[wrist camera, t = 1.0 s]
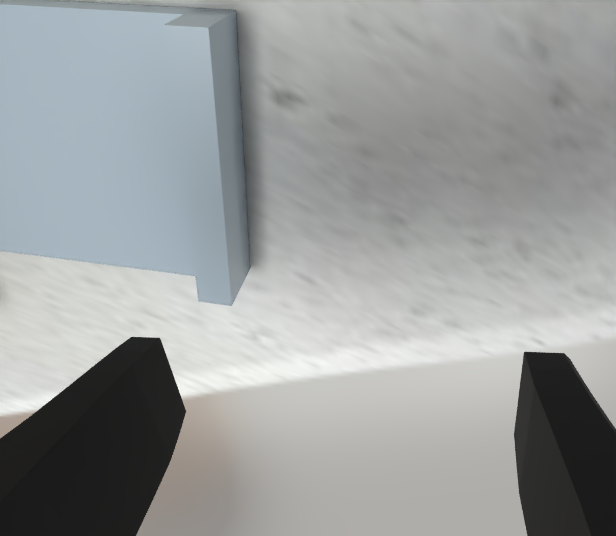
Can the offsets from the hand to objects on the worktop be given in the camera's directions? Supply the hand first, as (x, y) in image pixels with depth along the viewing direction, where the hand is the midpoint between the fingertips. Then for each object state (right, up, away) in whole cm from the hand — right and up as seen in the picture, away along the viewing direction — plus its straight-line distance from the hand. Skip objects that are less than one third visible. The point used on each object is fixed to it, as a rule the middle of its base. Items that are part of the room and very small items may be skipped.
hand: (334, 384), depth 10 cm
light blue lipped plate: (-8, +7, +9) cm, 14 cm away
